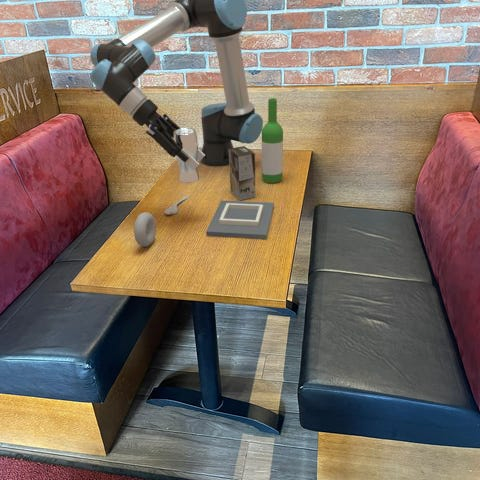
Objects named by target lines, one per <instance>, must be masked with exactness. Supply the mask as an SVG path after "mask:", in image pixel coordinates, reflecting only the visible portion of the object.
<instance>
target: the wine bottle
mask: <svg viewBox="0 0 480 480" xmlns="http://www.w3.org/2000/svg"><path fill="white" fill-rule="evenodd" d="M277 101H278V100H277V98H268V102H267V103H268V105H267V107H268V109H267V111H268V113H267V120H268V121H267V123H265V125H263V128H262V131H261V178H262V181H263V182H265V183H267V184H277V183H279V182H281V181H282V180H283V171H284V170H283V168H284V165H283V164H284V130H283V127H282V125H281V124H280V123H279V122H278V121H277V120H278V119H277V117H278V115H277V113H278V107H277V105H278V104H277V103H278V102H277Z"/></svg>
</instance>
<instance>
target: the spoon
mask: <svg viewBox="0 0 480 480" xmlns="http://www.w3.org/2000/svg"><path fill="white" fill-rule="evenodd" d="M188 198H190V195H189V194H186V195H184V196H183V197H181V198H180V199H179V200H178V201H177V202H176V203H174V204H172V205H171V206H170V207H167V208H166V209H165V211H164V215H174V214H177V213H178V212H179V208H178V204H180V203H181V202H184V201H185V200H187V199H188ZM170 212H173V213H170Z"/></svg>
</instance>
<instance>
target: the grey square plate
mask: <svg viewBox="0 0 480 480" xmlns="http://www.w3.org/2000/svg"><path fill="white" fill-rule="evenodd" d="M274 207H275V203H274V202H268V201H267V202H266V201H265V202H263V201H262V202H261V201H245V200H222V199H221V200H220V201H219V203H218V206H217V207H216V210H215V212H214V214H213V217H212V218H211V219H210V220H211V221H210V223H209V225H208V227H207V228H206V231H205V236H207V237H219V238H235V239H237V238H238V239H251V240H252V239H254V240H257V239H258V240H267V238H268V233H269V229H270V225H271V221H272V217H273V213H274V209H275V208H274Z"/></svg>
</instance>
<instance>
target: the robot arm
mask: <svg viewBox="0 0 480 480" xmlns="http://www.w3.org/2000/svg"><path fill="white" fill-rule="evenodd" d="M247 8H248V7H247V3H246V1H245V0H174V1H172V2H170V3H169V5H168V6H167V9H165V10H163V11H161V12H160V13H159V14H156V15H154V16H153V17H151V18H149V19H148V20H146V21H144V22H142V23H141V24H139V25H137V26H136V27H134V28H132V29H131V30H128V31H127V32H125V33H123V34H122V35H120V36H118V37H117V38H115V39H113V40H111V41H109V42H108V43H99V44H95V45H94V46H92V48H91V50H90V56H89V57H90V61H91V64H92V65H93V67H94V68H93V69H92V71H91V73H90V81H91V82H92V83H93V84H94V85H95V86H96V87H97V88H98V89H99V91H101V92H102V93H103V94H104V95H106V96H107V97H108V98H109V99H110V100H111V101H113V102H114V103H115V104H116V105H117V107H119V108H120V109H122V112H123V113H126V114H127V115H128V116H129V117H132V120H133V121H135V123H136V124H138V125H139V126H140V127H143V126H144V125H145V126H146V127H147V130H146V131H145V133H146V134H147V135H148V136H150V137H151V139H153V140H154V141H155V142H156V143H157V144H158V145H160V147H161V148H162V149H163V151H165V152H166V153H167V154H168V155H169V156H171V157H173V158H176V156H178V157H179V158H180V159H181V160H182V161H183V162H184V163H185V164H186V165H187V166H189V167H190V168H191V169H192V170H194V169H195V168H196V167H197V168H198V166H199V165H200V163H202V164H203V165H206V166H210V167H211V166H212V167H220V166H221V167H222V166H227V165H228V166H229V149H231V148H235V147H234V146H233V142H234V141H235V142H238V143H241V144H250V145H251V144H252V143H254V142H256V141H257V140H258V139H259V137H260V136H261V134H262V129H263V127H264V120H263V118H262V115H260V114H259V113H257V112H256V109H255V105H254V103H252V102H251V101H250V98H249V97H250V96H249V91H248V85H247V79H246V73H245V66H244V59H243V54H242V49H241V48H242V47H241V42H240V35H241V33H242V32H243V26H244V25H245V23H246V21H247V19H246V18H247V15H248V9H247ZM193 28H207V32H208V38H210V39H211V40H213V41H214V44H215V45H214V46H215V49H216V57H217V61H218V66H219V70H220V71H219V72H220V76H221V82H222V86H223V92H224V96H225V102H219V103H214V104H213V103H212V104H207V105H205V106H203V107H202V109H201V111H200V112H201V117H200V118H201V128H202V129H201V130H202V140H203V141H202V142H203V143H202V147H201V150H200V149H199V148H198V158H197V161H196V160H195V159H194V158H193V157H192V156H191V155H189V154H188V153H187V152H186V151H185V150H184V149H182V150H181V148H180V147H179V146H178V145H177V143H176V142H175V141H174V133H173V132H174V131H175V130H177V129H182V128H181V127H180V126H179V125H178V124H176V122H175V121H173V120H172V119H171V118H170V117H169V116H168V115H167V114H166V113H163V115H161V114H159V113H158V112H157V111H158V109H159V107H158V105H157V104H155V102H153V101H152V99H149V98H148V96H147V95H146V94H145V93H144V92H143V91H142V90H141V89H140V88H138V87H137V86H136V85H135V82H136V81H137V79H139V78H140V77H141V76H142V75H143V74H144V73H145V72H146V71H147V70H148V69H150V68H151V66H152V65H153V64H154V63H155V61H156V52H155V51H154V49H153V48H154V47H155V46H157V45H160V44H161V43H162V42H164V41H166V40H167V39H169V38H170V37H171V36H173V35H175V34H177V33H179V32H181V33H183V32H186V31H188V30H190V29H193ZM147 98H148V99H147ZM232 141H233V142H232ZM199 162H200V163H199Z"/></svg>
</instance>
